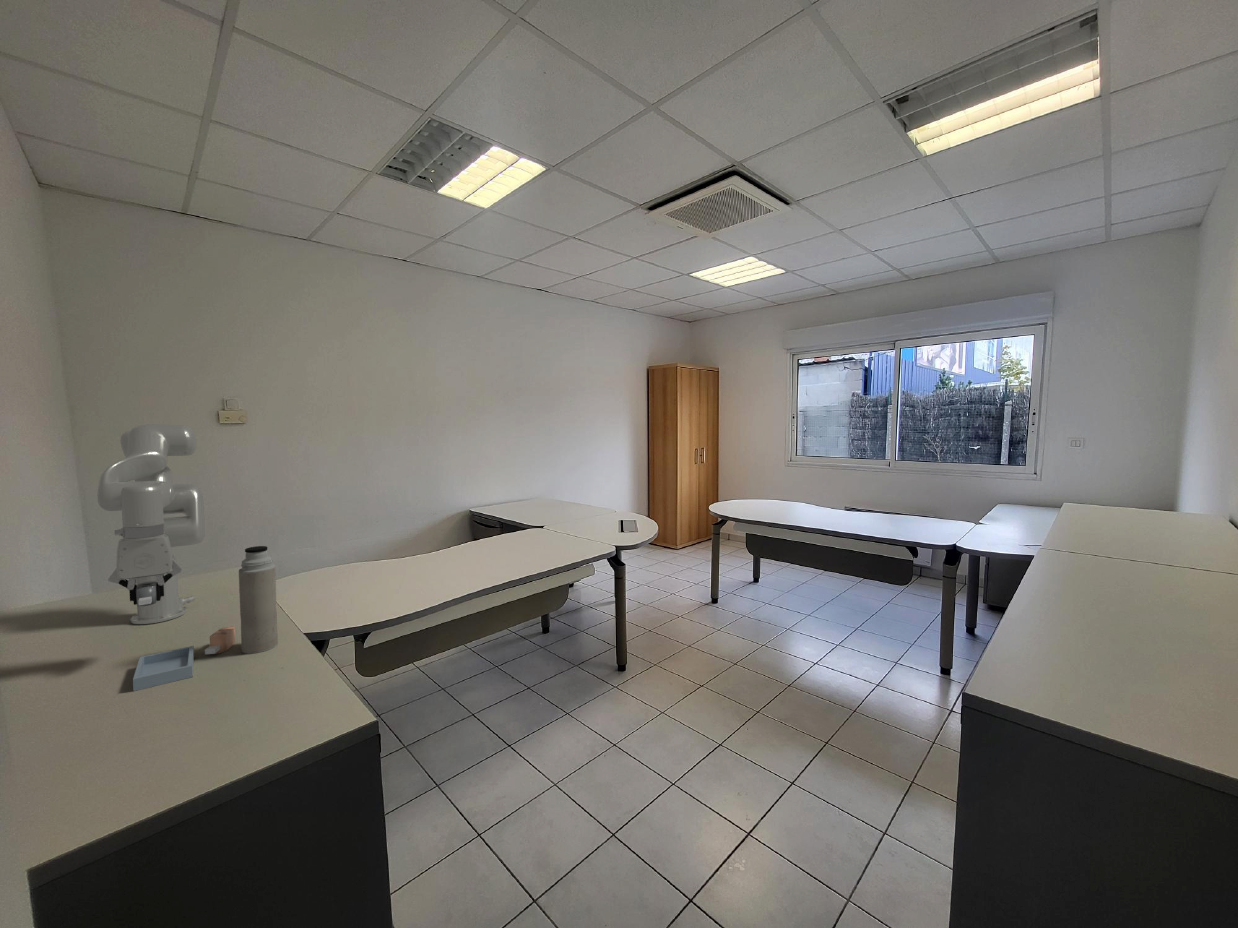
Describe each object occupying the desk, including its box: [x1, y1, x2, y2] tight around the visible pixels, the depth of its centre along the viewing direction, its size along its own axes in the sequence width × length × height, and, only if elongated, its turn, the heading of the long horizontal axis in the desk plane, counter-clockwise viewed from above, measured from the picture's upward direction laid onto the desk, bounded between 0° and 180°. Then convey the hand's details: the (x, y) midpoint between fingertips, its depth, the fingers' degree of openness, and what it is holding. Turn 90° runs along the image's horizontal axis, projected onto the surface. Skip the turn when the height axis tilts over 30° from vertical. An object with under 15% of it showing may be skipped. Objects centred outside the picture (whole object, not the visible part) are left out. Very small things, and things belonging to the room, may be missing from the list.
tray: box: [132, 645, 195, 692], centre depth 116 cm, size 14×10×3 cm
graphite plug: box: [136, 581, 157, 607], centre depth 122 cm, size 10×4×4 cm, turn 41°
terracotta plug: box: [204, 626, 236, 655], centre depth 129 cm, size 10×4×4 cm, turn 15°
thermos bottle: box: [238, 545, 279, 655], centre depth 130 cm, size 8×8×28 cm
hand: (147, 600), depth 123 cm, fingers closed on graphite plug, 3 cm apart
